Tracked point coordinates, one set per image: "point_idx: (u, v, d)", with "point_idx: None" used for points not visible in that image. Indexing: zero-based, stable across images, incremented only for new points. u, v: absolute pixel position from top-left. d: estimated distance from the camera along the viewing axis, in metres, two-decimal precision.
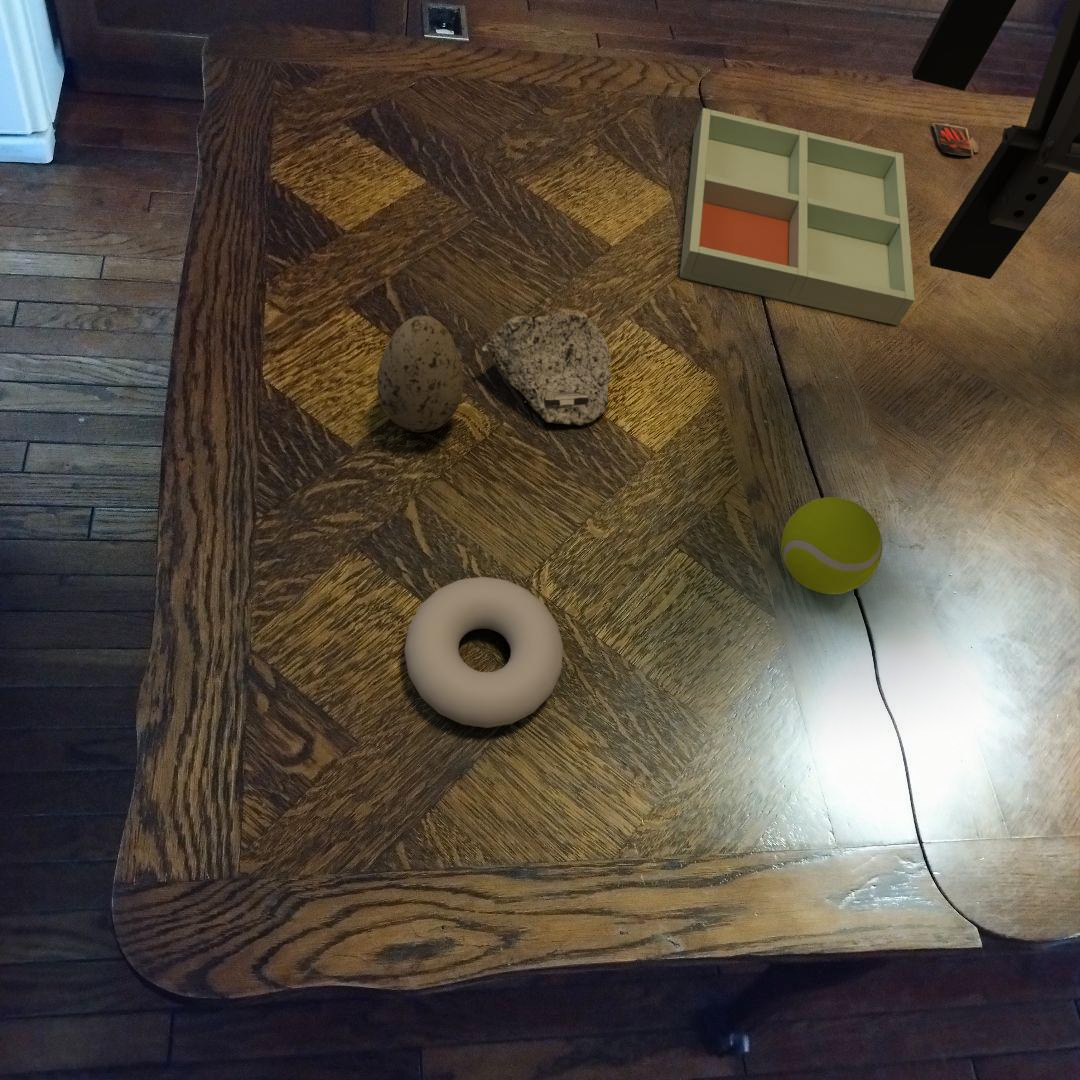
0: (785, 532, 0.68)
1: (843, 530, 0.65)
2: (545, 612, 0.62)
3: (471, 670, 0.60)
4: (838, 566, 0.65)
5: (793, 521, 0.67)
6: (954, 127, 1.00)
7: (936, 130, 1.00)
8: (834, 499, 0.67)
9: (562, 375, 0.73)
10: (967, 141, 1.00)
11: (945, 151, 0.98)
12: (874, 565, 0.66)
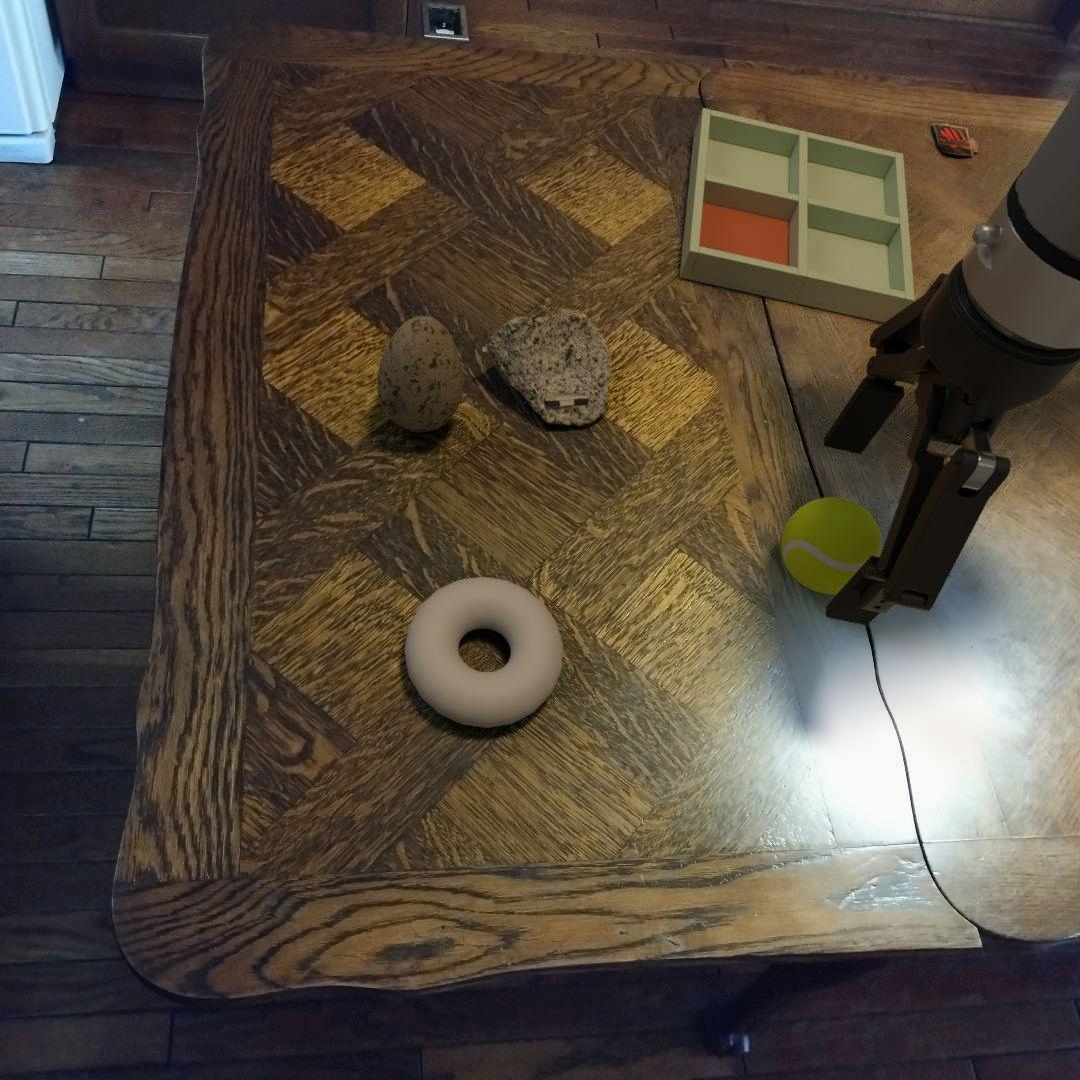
0: (785, 532, 0.68)
1: (843, 531, 0.65)
2: (545, 612, 0.62)
3: (471, 670, 0.60)
4: (838, 566, 0.65)
5: (793, 521, 0.67)
6: (954, 127, 1.00)
7: (936, 130, 1.00)
8: (834, 499, 0.67)
9: (562, 376, 0.73)
10: (967, 141, 1.00)
11: (945, 151, 0.98)
12: None
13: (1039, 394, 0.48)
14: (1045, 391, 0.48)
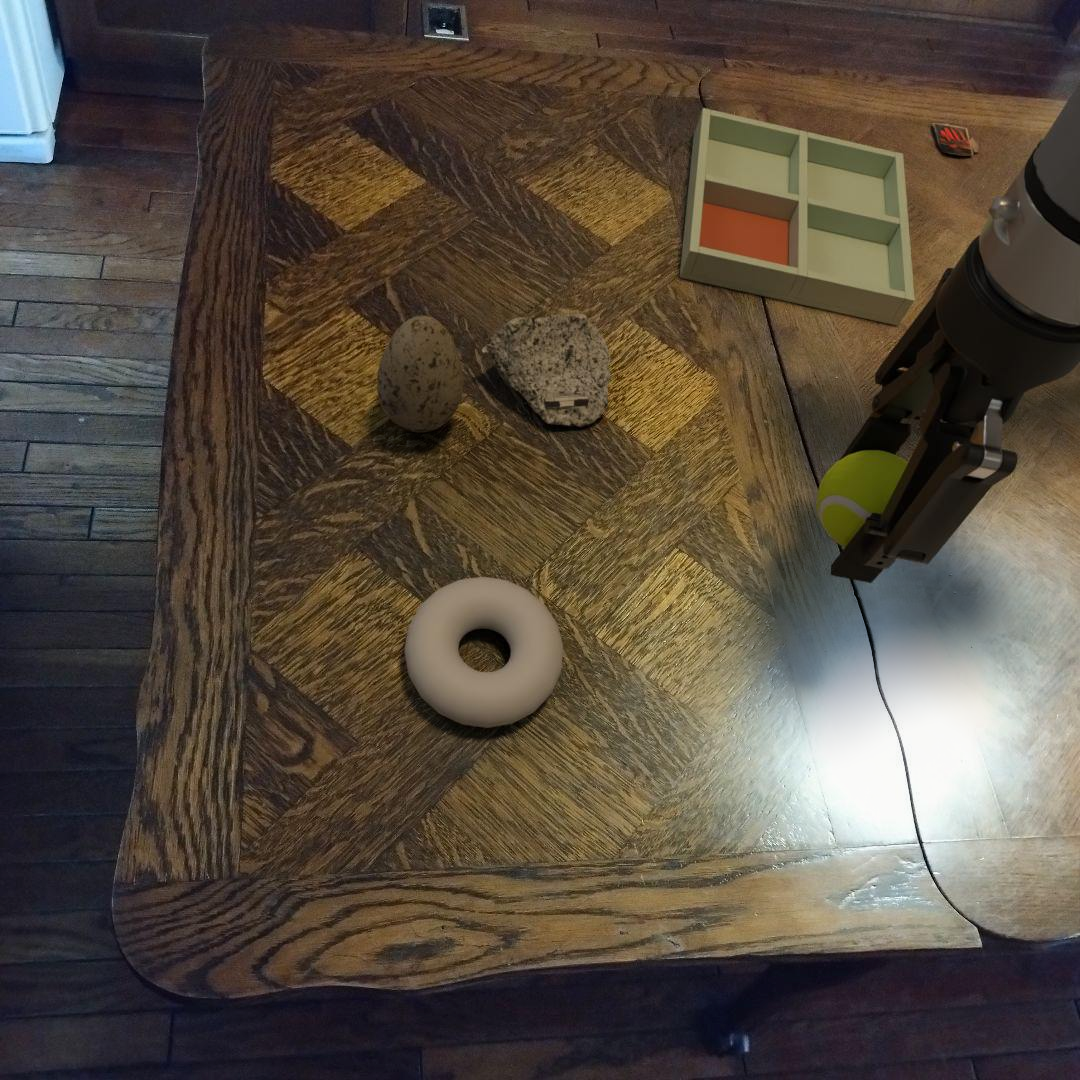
0: (821, 488, 0.63)
1: (885, 484, 0.60)
2: (545, 612, 0.62)
3: (471, 670, 0.60)
4: None
5: (830, 476, 0.63)
6: (954, 127, 1.00)
7: (936, 130, 1.00)
8: (874, 451, 0.62)
9: (562, 377, 0.73)
10: (967, 141, 1.00)
11: (945, 151, 0.98)
12: None
13: (1060, 373, 0.47)
14: (1066, 370, 0.47)
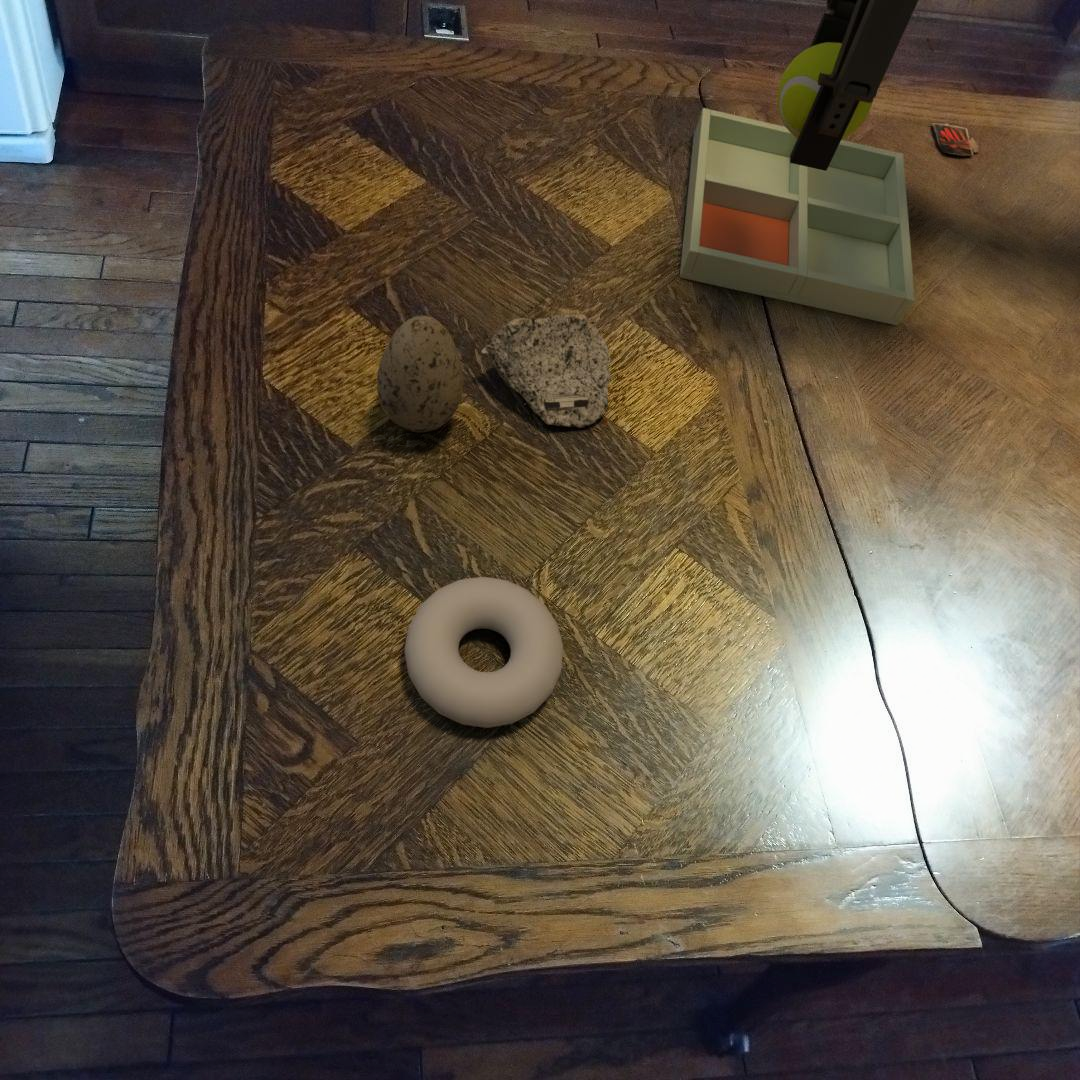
0: (781, 80, 0.70)
1: None
2: (545, 612, 0.62)
3: (471, 670, 0.60)
4: None
5: (788, 66, 0.70)
6: (954, 127, 1.00)
7: (936, 130, 1.00)
8: None
9: (562, 378, 0.73)
10: (967, 141, 1.00)
11: (945, 151, 0.98)
12: None
13: None
14: None
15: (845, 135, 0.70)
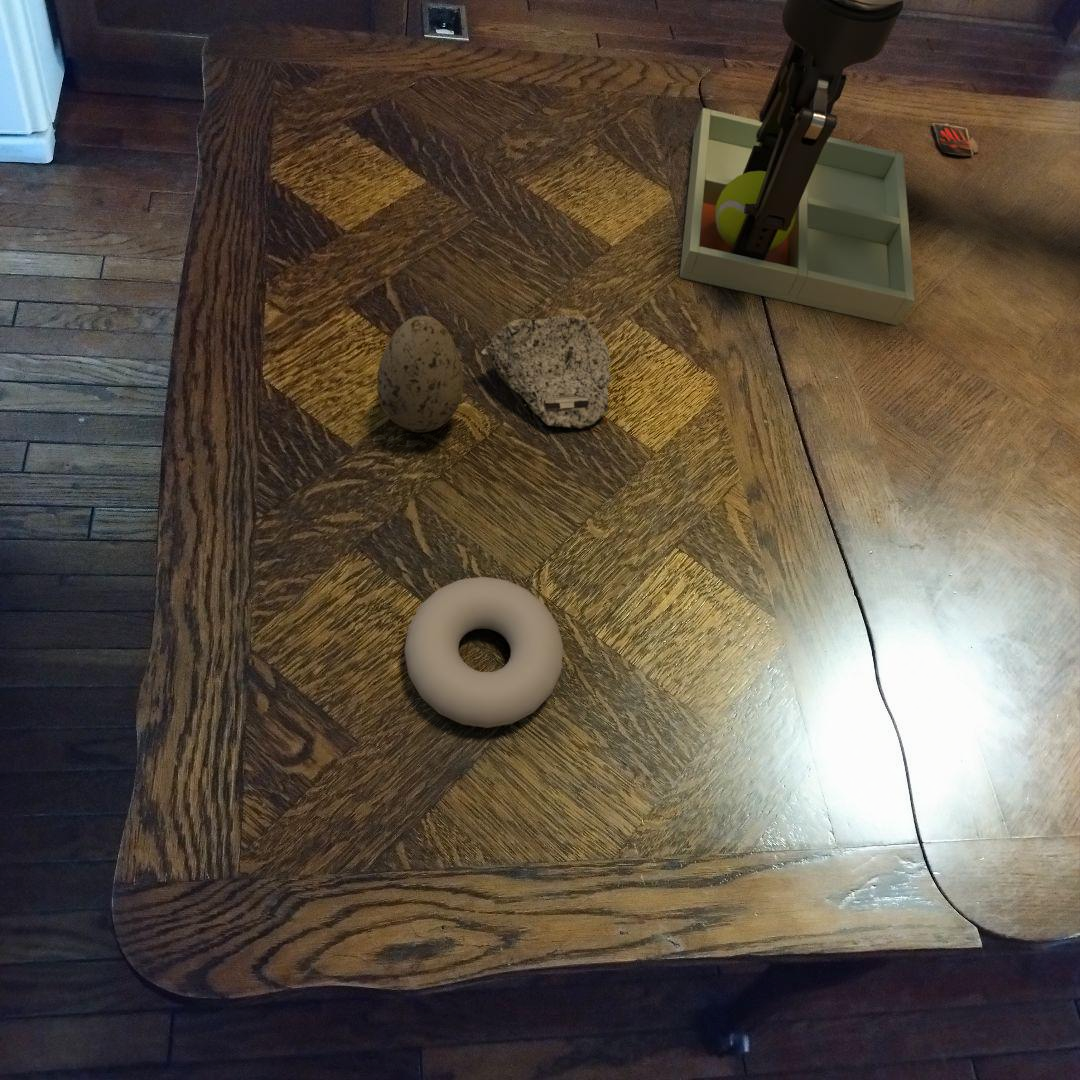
0: (717, 201, 0.83)
1: None
2: (545, 612, 0.62)
3: (471, 670, 0.60)
4: None
5: (723, 190, 0.82)
6: (954, 127, 1.00)
7: (936, 130, 1.00)
8: None
9: (562, 378, 0.73)
10: (967, 141, 1.00)
11: (945, 151, 0.98)
12: None
13: (864, 53, 0.67)
14: (868, 51, 0.67)
15: (772, 248, 0.83)
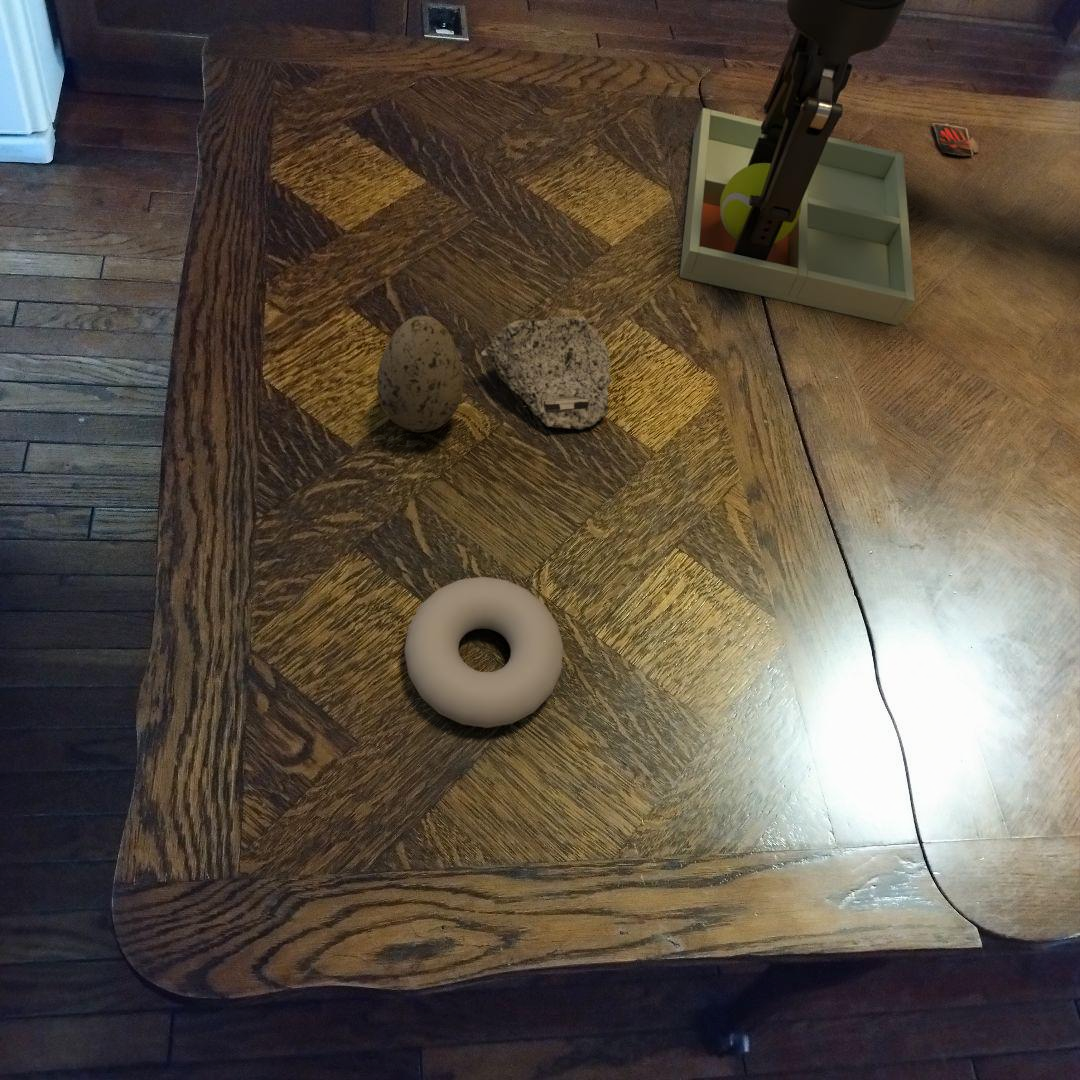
0: (722, 194, 0.82)
1: None
2: (545, 612, 0.62)
3: (471, 670, 0.60)
4: None
5: (728, 182, 0.82)
6: (954, 127, 1.00)
7: (936, 130, 1.00)
8: None
9: (561, 379, 0.73)
10: (967, 141, 1.00)
11: (945, 151, 0.98)
12: None
13: (869, 41, 0.66)
14: (874, 39, 0.66)
15: (777, 240, 0.82)
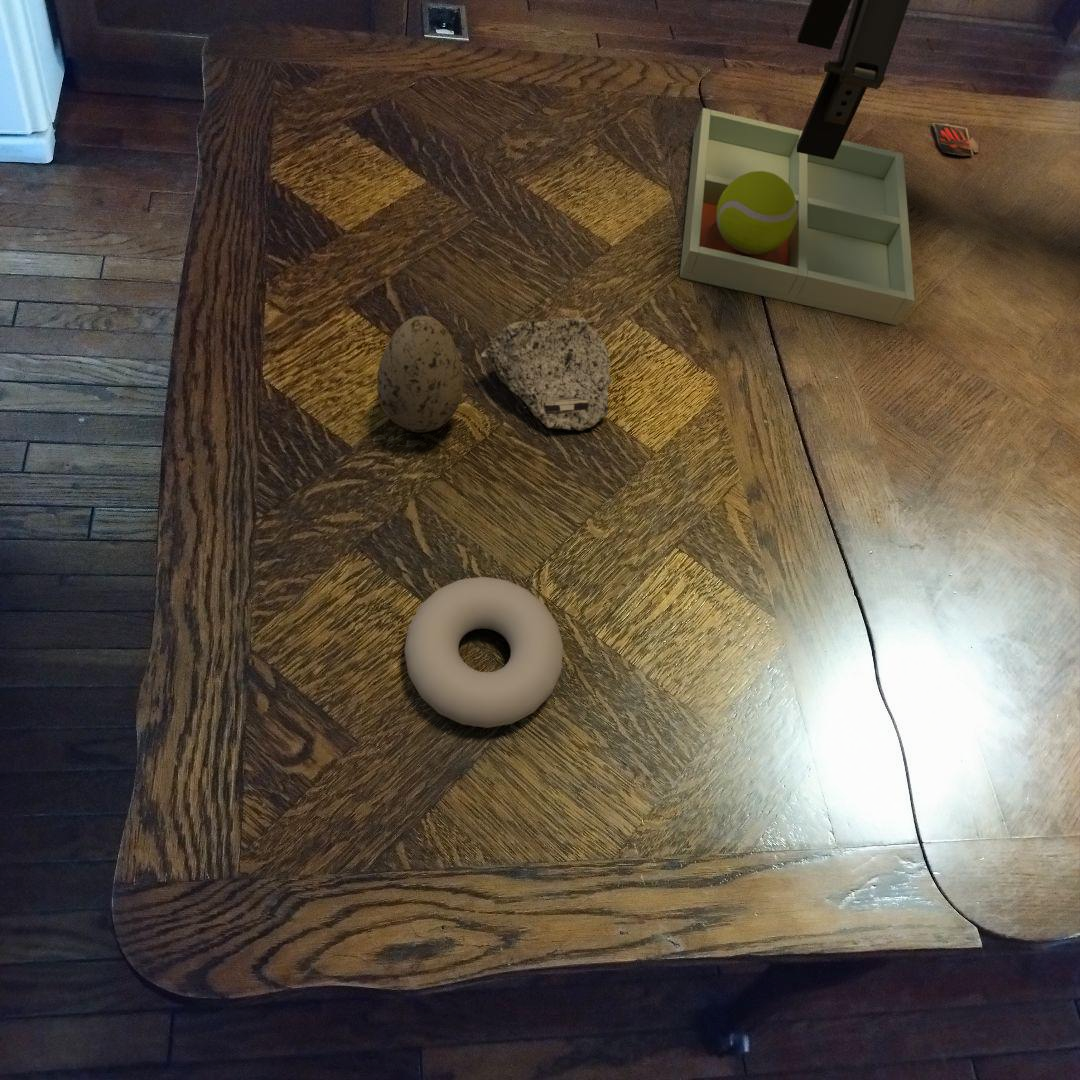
0: (719, 201, 0.83)
1: (763, 188, 0.80)
2: (545, 612, 0.62)
3: (471, 670, 0.60)
4: (759, 217, 0.80)
5: (725, 190, 0.82)
6: (954, 127, 1.00)
7: (936, 130, 1.00)
8: (758, 171, 0.82)
9: (561, 381, 0.73)
10: (967, 141, 1.00)
11: (945, 151, 0.98)
12: (790, 221, 0.81)
13: None
14: None
15: (773, 248, 0.83)
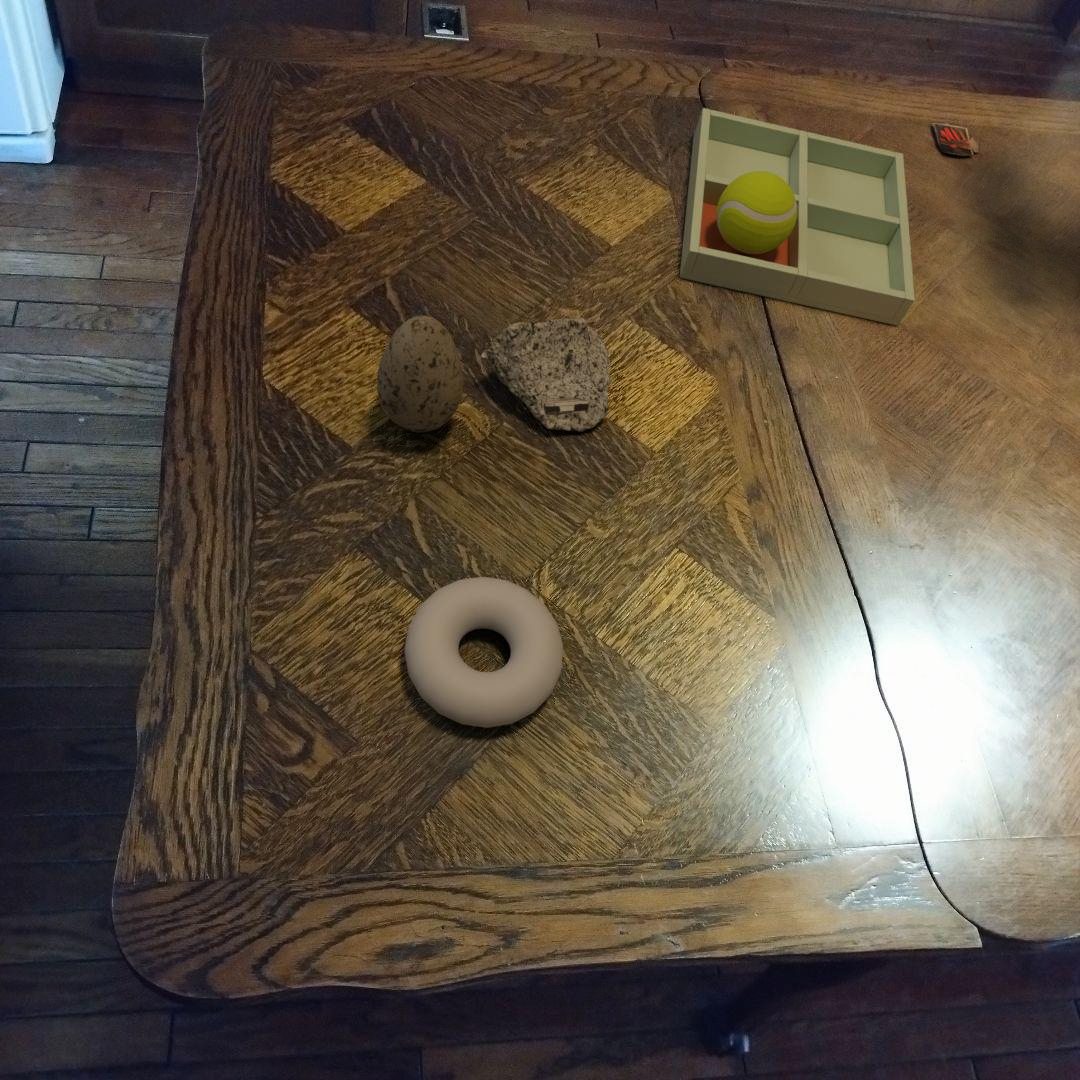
0: (719, 201, 0.83)
1: (763, 188, 0.80)
2: (545, 612, 0.62)
3: (471, 670, 0.60)
4: (759, 217, 0.80)
5: (725, 190, 0.82)
6: (954, 127, 1.00)
7: (936, 130, 1.00)
8: (758, 171, 0.82)
9: (561, 381, 0.73)
10: (967, 141, 1.00)
11: (945, 151, 0.98)
12: (790, 221, 0.81)
13: None
14: None
15: (773, 248, 0.83)
